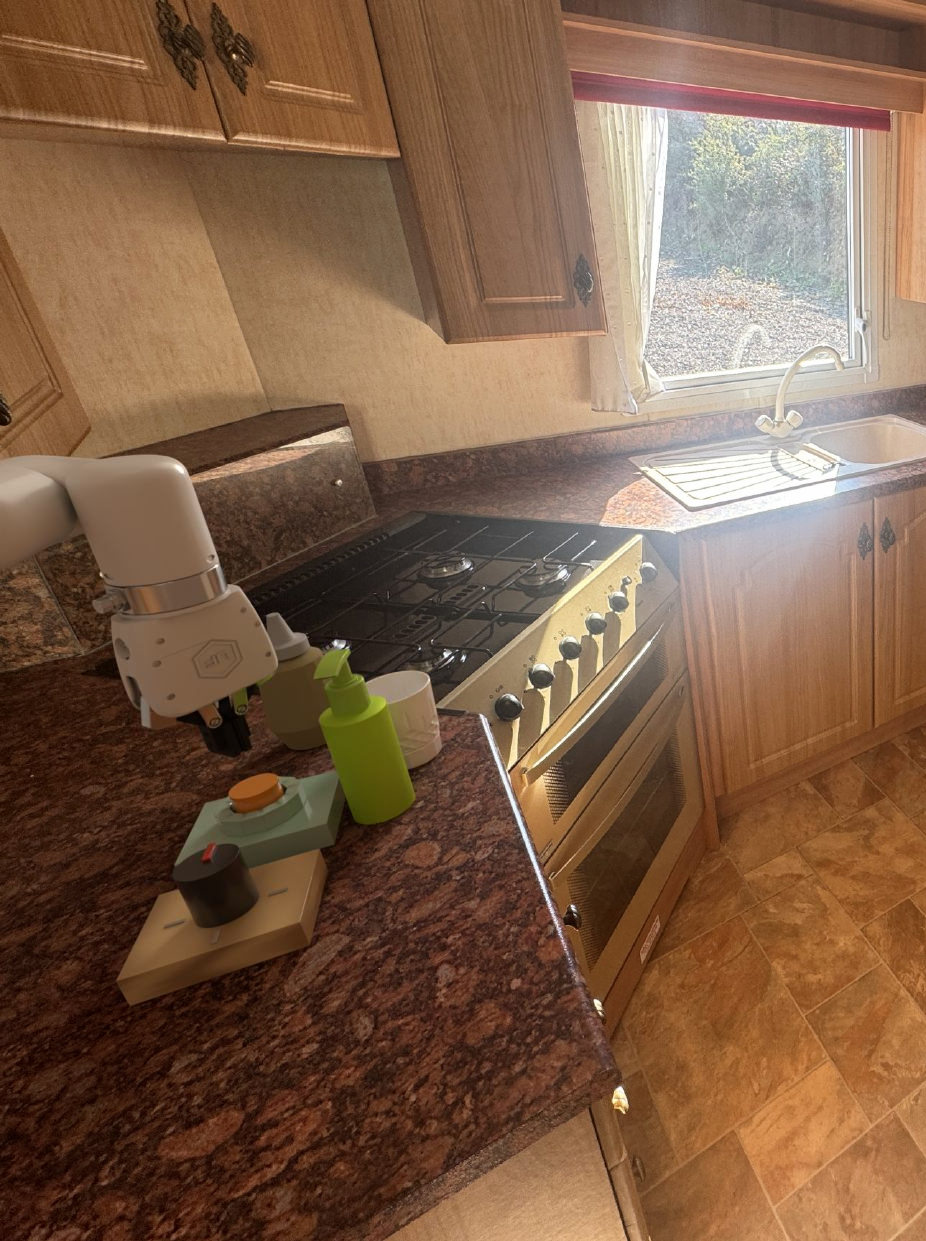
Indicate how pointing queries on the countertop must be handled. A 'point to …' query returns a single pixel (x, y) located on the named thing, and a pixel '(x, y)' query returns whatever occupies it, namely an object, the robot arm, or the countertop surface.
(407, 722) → the white cup
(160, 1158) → the countertop surface
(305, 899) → the dial panel
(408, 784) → the soap dispenser
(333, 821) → the green button base
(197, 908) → the dial
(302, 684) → the squeeze bottle
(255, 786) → the orange arcade button
